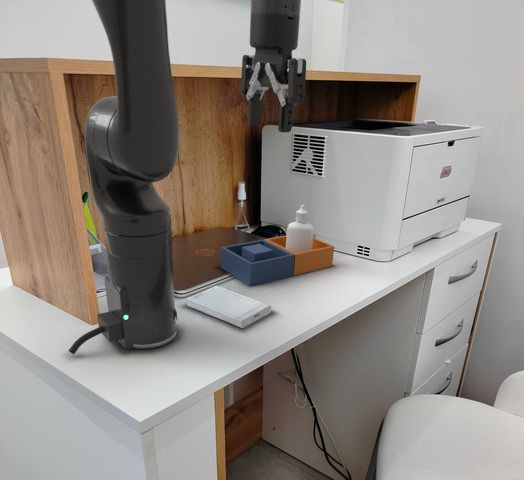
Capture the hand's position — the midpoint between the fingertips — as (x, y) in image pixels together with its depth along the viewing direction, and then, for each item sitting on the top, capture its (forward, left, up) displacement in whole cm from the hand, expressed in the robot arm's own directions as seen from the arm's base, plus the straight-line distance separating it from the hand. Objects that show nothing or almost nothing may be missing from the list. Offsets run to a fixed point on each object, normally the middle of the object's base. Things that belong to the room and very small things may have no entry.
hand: (269, 128), depth 83 cm
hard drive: (-12, -7, -28) cm, 32 cm away
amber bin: (+14, +5, -28) cm, 32 cm away
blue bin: (+2, +5, -28) cm, 29 cm away
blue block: (+2, +5, -28) cm, 28 cm away
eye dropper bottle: (+14, +5, -28) cm, 31 cm away
